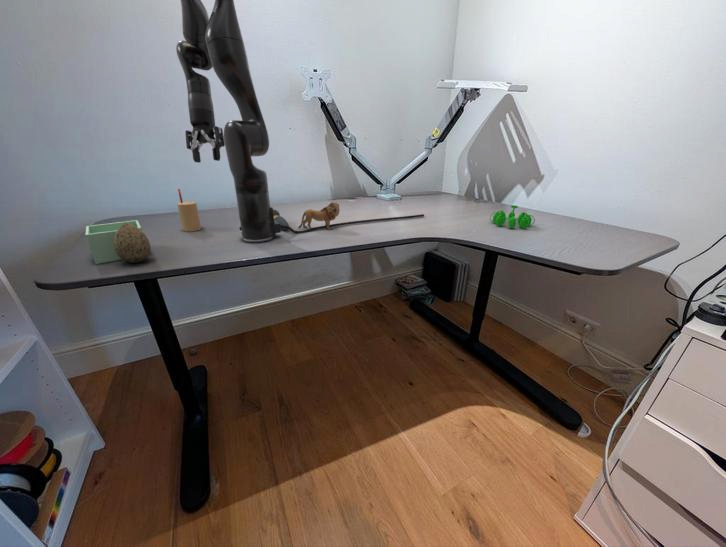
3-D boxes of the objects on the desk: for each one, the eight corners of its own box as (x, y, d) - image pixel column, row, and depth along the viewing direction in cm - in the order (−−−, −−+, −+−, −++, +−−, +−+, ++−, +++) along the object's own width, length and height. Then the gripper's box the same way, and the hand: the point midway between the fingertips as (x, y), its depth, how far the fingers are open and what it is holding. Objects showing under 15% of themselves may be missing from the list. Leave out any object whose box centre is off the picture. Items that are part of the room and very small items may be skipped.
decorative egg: (116, 269, 74) (103, 228, 70) (123, 259, 80) (111, 221, 76) (152, 264, 77) (141, 225, 73) (155, 255, 83) (145, 218, 79)
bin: (144, 245, 91) (137, 220, 88) (148, 254, 83) (141, 227, 80) (95, 253, 84) (86, 226, 81) (95, 264, 77) (85, 234, 74)
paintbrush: (298, 230, 107) (297, 215, 105) (284, 232, 104) (283, 217, 102) (274, 219, 121) (273, 206, 119) (262, 221, 118) (260, 208, 116)
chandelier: (488, 227, 112) (491, 208, 109) (490, 218, 125) (493, 201, 122) (535, 232, 107) (539, 211, 104) (531, 222, 120) (535, 204, 117)
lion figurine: (338, 225, 113) (338, 200, 110) (341, 229, 108) (340, 203, 105) (297, 227, 110) (295, 202, 107) (298, 231, 105) (296, 204, 102)
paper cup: (205, 228, 109) (197, 187, 103) (191, 232, 104) (182, 189, 98) (193, 226, 110) (184, 186, 105) (179, 230, 106) (169, 188, 100)
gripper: (175, 110, 103) (182, 161, 106) (209, 104, 98) (214, 157, 101) (194, 116, 110) (200, 164, 113) (226, 111, 105) (231, 161, 108)
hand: (207, 161), depth 107 cm, fingers open, 8 cm apart
